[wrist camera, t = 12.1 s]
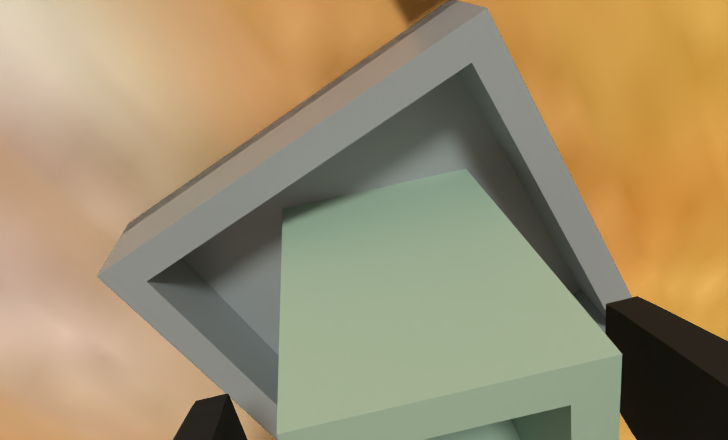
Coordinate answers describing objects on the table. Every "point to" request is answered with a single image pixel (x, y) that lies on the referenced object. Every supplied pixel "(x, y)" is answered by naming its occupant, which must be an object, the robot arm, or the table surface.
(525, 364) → the green sleeve
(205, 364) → the grey tray
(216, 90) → the table surface
